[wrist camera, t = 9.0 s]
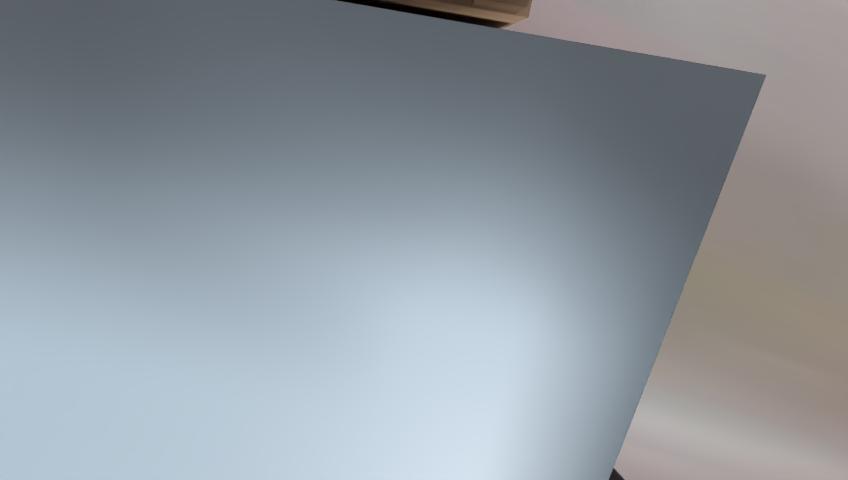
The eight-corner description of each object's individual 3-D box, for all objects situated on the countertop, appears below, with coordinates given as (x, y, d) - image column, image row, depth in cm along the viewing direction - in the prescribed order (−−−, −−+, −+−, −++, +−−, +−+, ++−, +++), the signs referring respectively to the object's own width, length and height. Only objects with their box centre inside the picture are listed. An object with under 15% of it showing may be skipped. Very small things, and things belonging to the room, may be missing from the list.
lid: (456, 668, 10) (457, 868, 7) (82, 605, 10) (-37, 784, 7) (637, 63, 6) (766, 74, 3) (-2, -47, 6) (-327, -115, 3)
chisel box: (438, 344, 21) (427, 524, 13) (296, 320, 21) (199, 485, 13) (529, -114, 15) (612, -293, 7) (333, -148, 15) (199, -365, 7)
